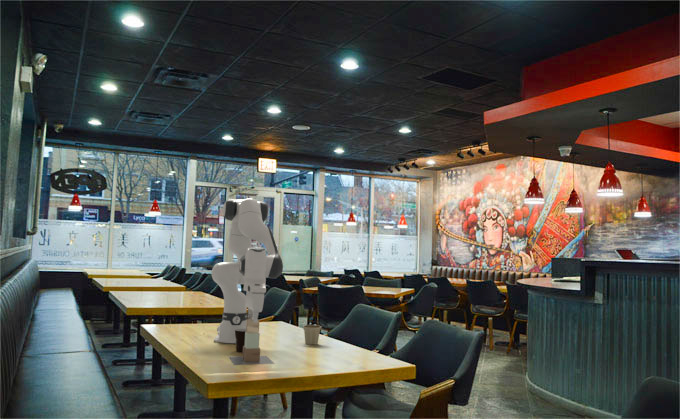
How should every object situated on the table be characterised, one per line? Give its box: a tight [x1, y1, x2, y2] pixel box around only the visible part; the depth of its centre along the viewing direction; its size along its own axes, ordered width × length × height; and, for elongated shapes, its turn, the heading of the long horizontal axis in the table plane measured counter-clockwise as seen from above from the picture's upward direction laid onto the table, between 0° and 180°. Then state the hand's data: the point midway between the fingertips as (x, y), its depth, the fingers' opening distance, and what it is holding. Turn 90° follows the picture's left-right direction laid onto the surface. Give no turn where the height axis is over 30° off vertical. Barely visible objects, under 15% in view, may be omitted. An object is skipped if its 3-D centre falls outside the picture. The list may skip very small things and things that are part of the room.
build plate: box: [228, 355, 275, 366], centre depth 213 cm, size 16×16×1 cm
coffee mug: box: [235, 329, 246, 354], centre depth 234 cm, size 12×9×10 cm
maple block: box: [246, 318, 260, 333], centre depth 214 cm, size 4×4×5 cm
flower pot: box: [302, 324, 322, 346], centre depth 262 cm, size 9×9×9 cm
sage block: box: [244, 332, 260, 349], centre depth 214 cm, size 5×5×6 cm
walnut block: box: [242, 346, 261, 362], centre depth 213 cm, size 6×6×5 cm
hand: (252, 320), depth 215 cm, fingers open, 8 cm apart
